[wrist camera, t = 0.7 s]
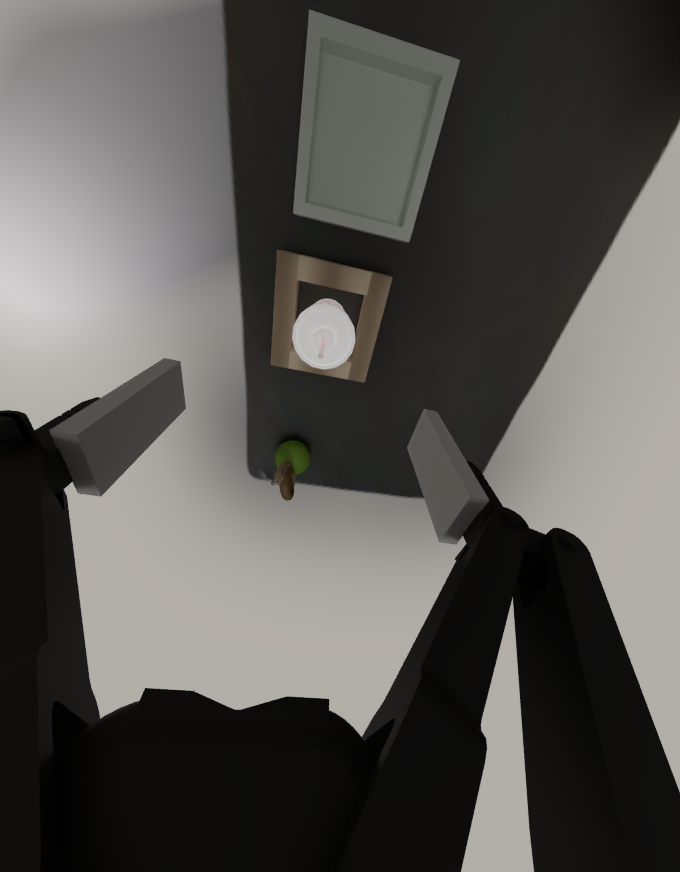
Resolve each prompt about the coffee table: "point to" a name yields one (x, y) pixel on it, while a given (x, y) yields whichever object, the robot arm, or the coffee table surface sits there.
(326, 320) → the beverage cup
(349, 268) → the socket holder
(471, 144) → the coffee table surface
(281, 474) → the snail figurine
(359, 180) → the tray
